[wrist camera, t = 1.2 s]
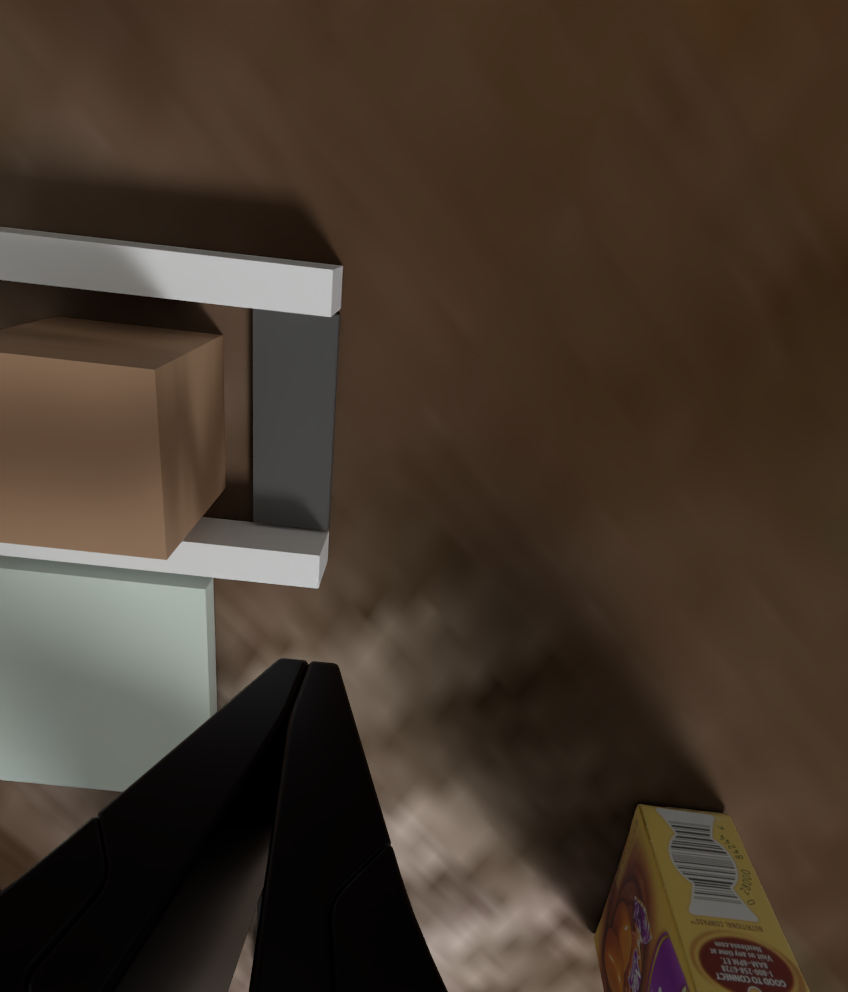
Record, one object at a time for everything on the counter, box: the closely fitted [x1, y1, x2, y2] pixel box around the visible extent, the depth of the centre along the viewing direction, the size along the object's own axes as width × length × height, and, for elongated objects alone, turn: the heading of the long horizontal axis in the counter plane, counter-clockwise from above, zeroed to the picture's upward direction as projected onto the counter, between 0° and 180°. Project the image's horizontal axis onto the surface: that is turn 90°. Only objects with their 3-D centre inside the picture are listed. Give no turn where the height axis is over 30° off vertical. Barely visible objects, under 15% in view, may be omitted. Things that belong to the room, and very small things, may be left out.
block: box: [0, 316, 226, 560], centre depth 18 cm, size 5×5×5 cm
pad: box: [0, 555, 217, 792], centre depth 24 cm, size 10×10×1 cm
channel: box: [0, 227, 343, 588], centre depth 19 cm, size 10×14×2 cm
